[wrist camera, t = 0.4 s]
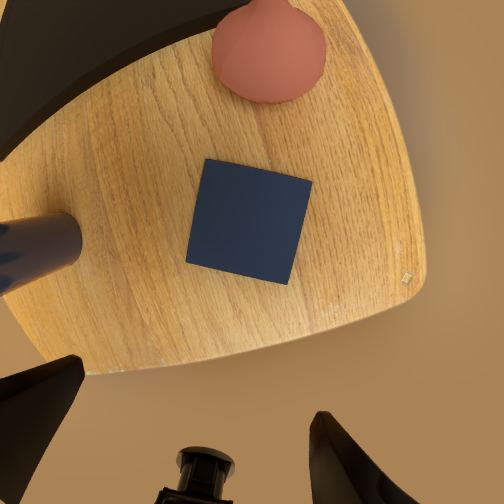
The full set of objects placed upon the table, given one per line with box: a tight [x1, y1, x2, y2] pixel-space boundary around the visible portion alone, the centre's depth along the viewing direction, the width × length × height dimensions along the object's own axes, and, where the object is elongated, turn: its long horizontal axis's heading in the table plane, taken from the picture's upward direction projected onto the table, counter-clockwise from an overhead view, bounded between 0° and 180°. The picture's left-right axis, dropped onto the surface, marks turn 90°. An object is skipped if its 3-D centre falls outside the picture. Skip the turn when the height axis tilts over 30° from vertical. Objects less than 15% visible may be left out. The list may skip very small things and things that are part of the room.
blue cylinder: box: [0, 212, 82, 297], centre depth 15 cm, size 5×5×13 cm
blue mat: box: [186, 159, 312, 285], centre depth 20 cm, size 8×8×1 cm
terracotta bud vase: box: [212, 0, 326, 104], centre depth 12 cm, size 8×8×12 cm
